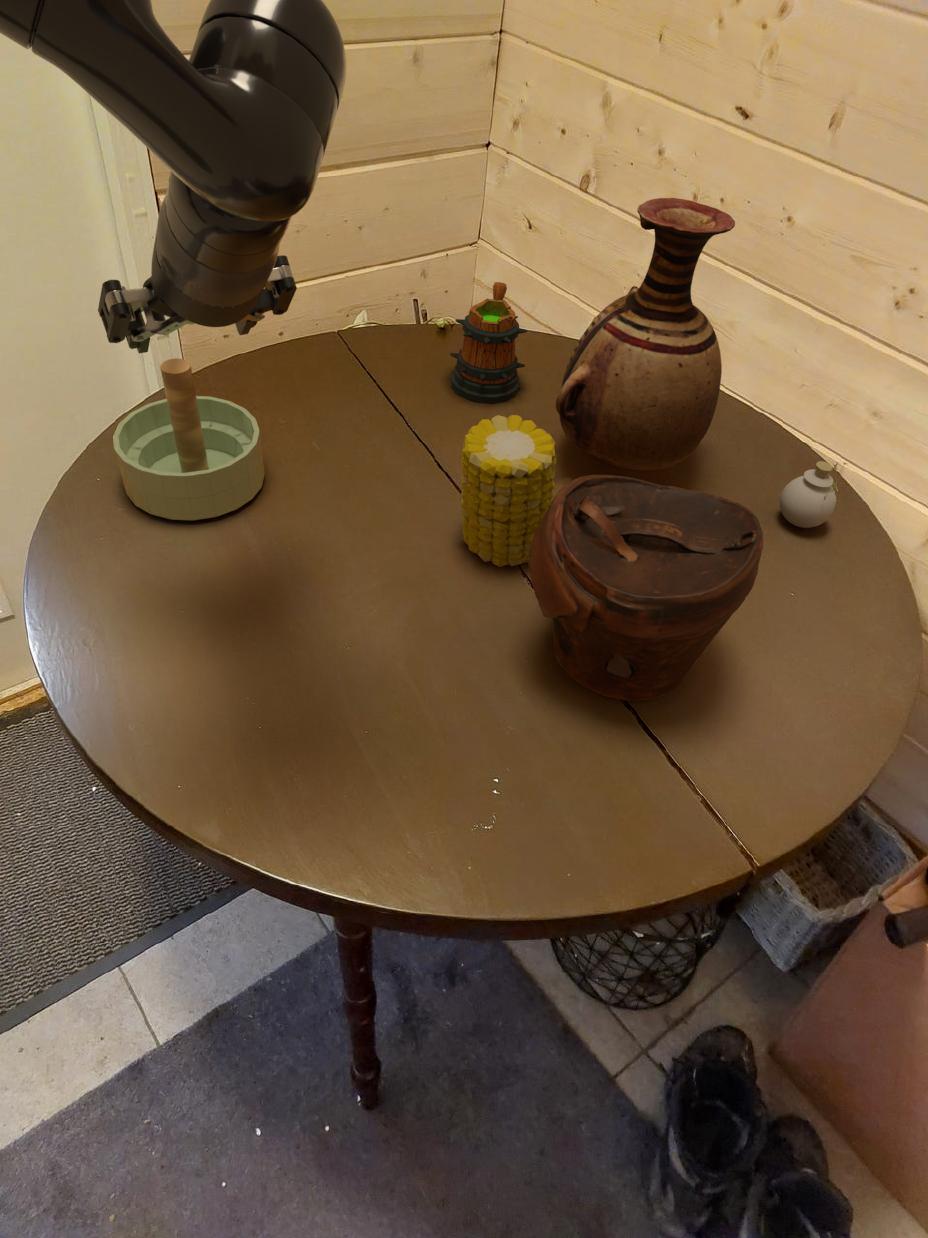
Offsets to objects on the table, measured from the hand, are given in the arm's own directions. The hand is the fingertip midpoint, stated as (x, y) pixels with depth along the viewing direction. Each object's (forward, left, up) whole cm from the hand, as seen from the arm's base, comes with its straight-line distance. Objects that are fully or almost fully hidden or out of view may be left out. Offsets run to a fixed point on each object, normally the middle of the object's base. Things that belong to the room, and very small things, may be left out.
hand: (190, 332), depth 70 cm
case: (+33, -25, -24) cm, 48 cm away
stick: (-1, +12, -24) cm, 27 cm away
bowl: (-2, +12, -24) cm, 27 cm away
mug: (+39, +26, -24) cm, 53 cm away
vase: (+49, +4, -24) cm, 55 cm away
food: (+28, -7, -24) cm, 38 cm away
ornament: (+64, -13, -24) cm, 70 cm away
